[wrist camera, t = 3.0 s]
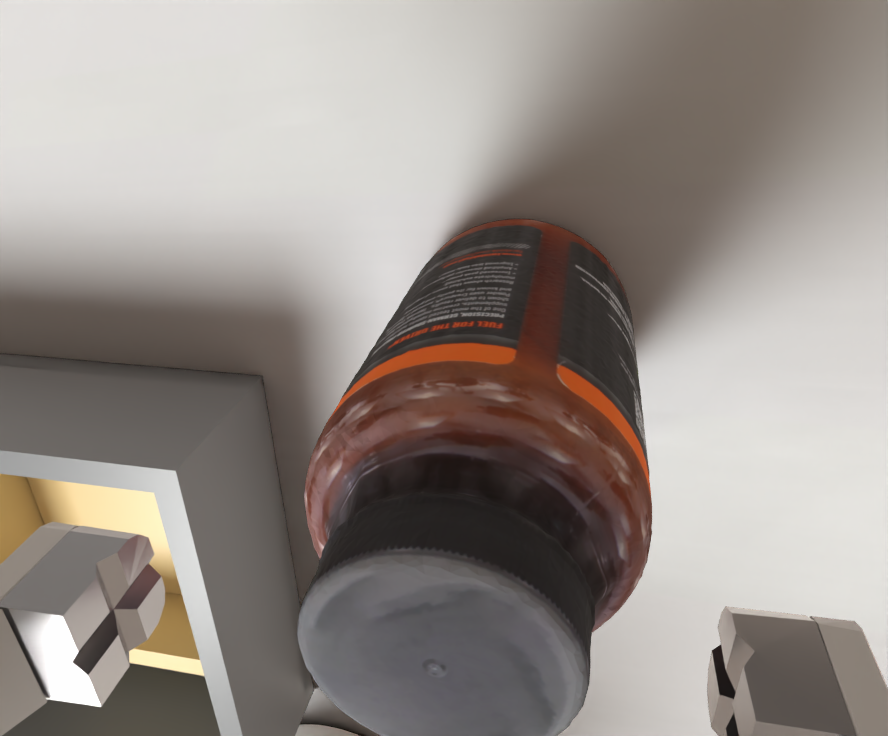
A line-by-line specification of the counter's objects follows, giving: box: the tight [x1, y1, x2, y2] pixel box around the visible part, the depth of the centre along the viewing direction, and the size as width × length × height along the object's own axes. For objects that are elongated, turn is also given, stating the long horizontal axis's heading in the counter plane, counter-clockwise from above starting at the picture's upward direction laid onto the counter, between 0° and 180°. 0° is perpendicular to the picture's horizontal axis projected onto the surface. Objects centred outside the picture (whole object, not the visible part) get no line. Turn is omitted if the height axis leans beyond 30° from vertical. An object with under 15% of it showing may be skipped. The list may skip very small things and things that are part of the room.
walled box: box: [0, 353, 314, 736], centre depth 24 cm, size 15×14×5 cm
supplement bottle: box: [297, 219, 652, 736], centre depth 14 cm, size 6×6×11 cm
